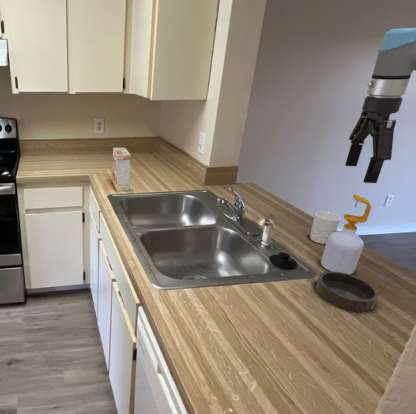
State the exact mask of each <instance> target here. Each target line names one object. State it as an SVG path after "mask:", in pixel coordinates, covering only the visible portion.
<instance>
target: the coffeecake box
mask: <svg viewBox="0 0 416 414" xmlns="http://www.w3.org/2000/svg"><path fill="white" fill-rule="evenodd" d="M130 176H131V153H130V152H129V151H128V149H127V148H126V147H112V184H113V187H114V188H115V191H116V192H124V191H125V192H127V191H130V183H131V182H130V179H131V177H130Z"/></svg>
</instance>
